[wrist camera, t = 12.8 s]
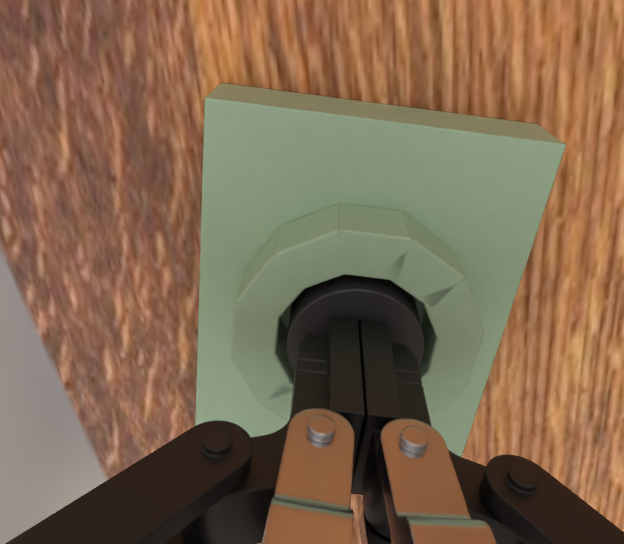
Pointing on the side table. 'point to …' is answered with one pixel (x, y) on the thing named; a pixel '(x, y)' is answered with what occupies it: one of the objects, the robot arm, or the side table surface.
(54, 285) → the side table surface
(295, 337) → the button
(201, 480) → the robot arm
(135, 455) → the side table surface
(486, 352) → the button box
